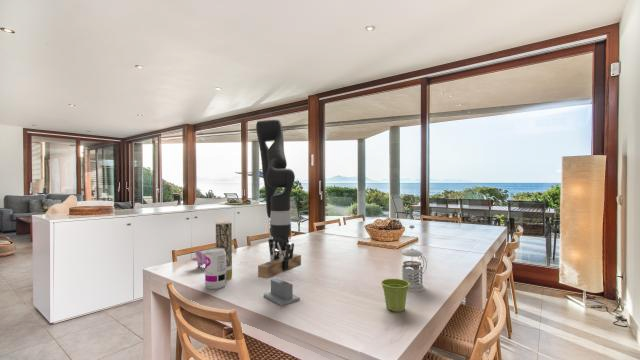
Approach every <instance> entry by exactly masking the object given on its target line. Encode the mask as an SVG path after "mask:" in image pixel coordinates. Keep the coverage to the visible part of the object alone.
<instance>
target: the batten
mask: <svg viewBox="0 0 640 360" xmlns="http://www.w3.org/2000/svg"><path fill="white" fill-rule="evenodd" d="M289 256H290V255H289ZM282 261H283V260H282V258H279V259H276V260H273V261H270V260H269V261H267V262H265V263H261V264H258V265H257V277H258V278H261V279H266V280H268V279H272V278H273V277H275V276H277V275H280V274H282V273H283V274H284V273H285V272H288V271H290V270H292V269H295V268H298V267H300V266H301V265H302V255H301V254H296V253H293V257H292V259H290V260H289V261H288V270H287V271H282Z"/></svg>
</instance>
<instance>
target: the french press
mask: <svg viewBox="0 0 640 360" xmlns="http://www.w3.org/2000/svg"><path fill="white" fill-rule="evenodd" d="M409 229H415V225H413V224H411V225H409ZM401 254H402V256H405V257H411V258H416V257H417V258H418V259H419V260H420V258H421V260H422V261H423V262H422V263H423V265H422V263H421V262H420V261H416V260H415V261H414V260H405V261H403V262H402V264H403V265H402V266H401V272H402V274H401V275H402V276H401V279H402V280H405V281H408V282H409V283H410V285H409V286H408V290H407V292H423V291H425V289H426V287H425V286H424V285H423V274H424V273H425V272H426V270H427V267H428V262H427V260H426V257H424V255H423V254H424V253H423V252H421V251H420V250H418V249H414V248H409V249H408V248H407V249H405V250H402V252H401ZM419 257H420V258H419ZM424 267H425V268H424ZM423 269H424V271H423Z"/></svg>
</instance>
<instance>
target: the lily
mask: <svg viewBox="0 0 640 360" xmlns="http://www.w3.org/2000/svg"><path fill="white" fill-rule="evenodd" d="M205 253H206V252H202V251H200V250H196V249H194V254H195V257H193V258H190V259H189V260H190V261H194V262H197V267H198V266H200V267H201V268H200V269H201V272H203V265H205Z"/></svg>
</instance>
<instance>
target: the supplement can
mask: <svg viewBox="0 0 640 360" xmlns="http://www.w3.org/2000/svg"><path fill="white" fill-rule="evenodd" d="M204 253H205V264H204V281H205V282H204V285H205V287H206V289H209V290H218V289H223V288H225V286H226V285H227V280H226V252H225V250H224V249H223V248H216V247H214V248H213V247H212V248H209V249H206V251H205V252H204Z"/></svg>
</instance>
